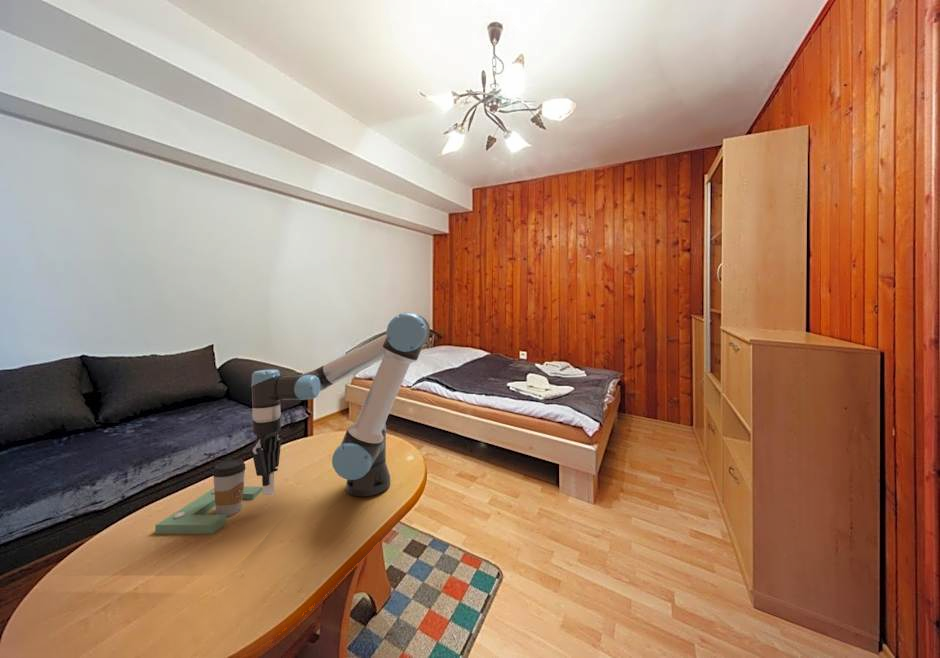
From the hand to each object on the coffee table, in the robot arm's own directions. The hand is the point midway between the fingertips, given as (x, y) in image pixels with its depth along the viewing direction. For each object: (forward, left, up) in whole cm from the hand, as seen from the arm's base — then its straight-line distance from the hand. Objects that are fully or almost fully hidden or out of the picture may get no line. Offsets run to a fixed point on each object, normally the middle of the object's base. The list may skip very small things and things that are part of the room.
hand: (268, 493), depth 101 cm
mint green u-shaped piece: (+18, 0, -6) cm, 19 cm away
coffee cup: (+12, 0, -6) cm, 14 cm away
